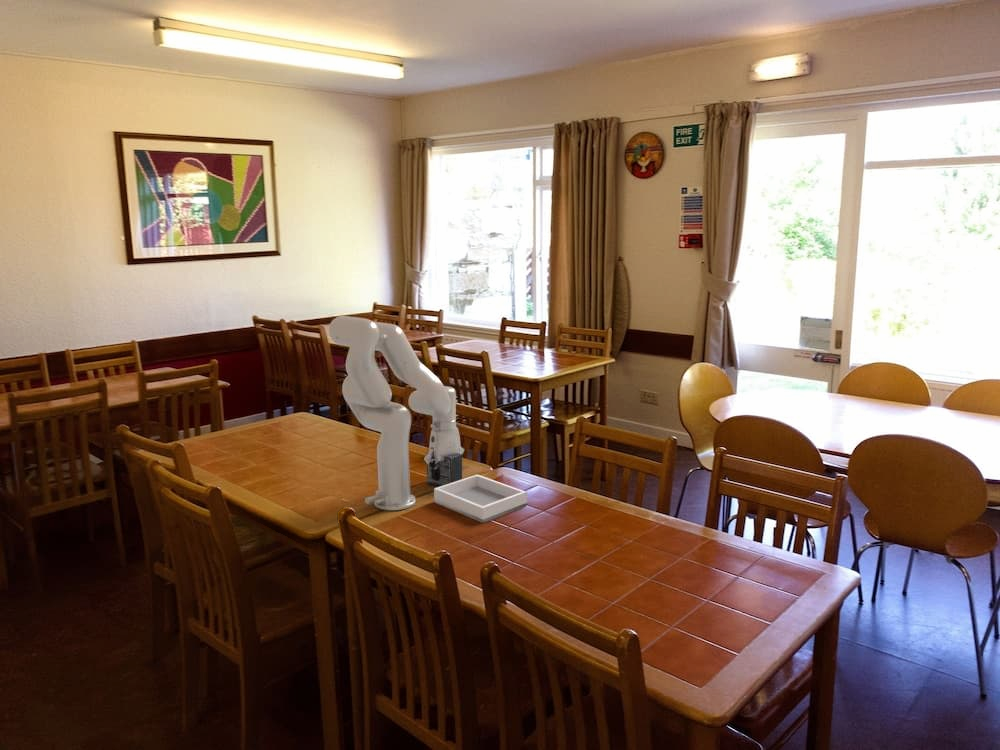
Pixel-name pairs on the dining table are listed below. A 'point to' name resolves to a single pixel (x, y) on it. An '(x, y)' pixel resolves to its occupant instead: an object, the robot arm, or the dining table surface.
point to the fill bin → (480, 498)
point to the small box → (447, 470)
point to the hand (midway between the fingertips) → (444, 476)
